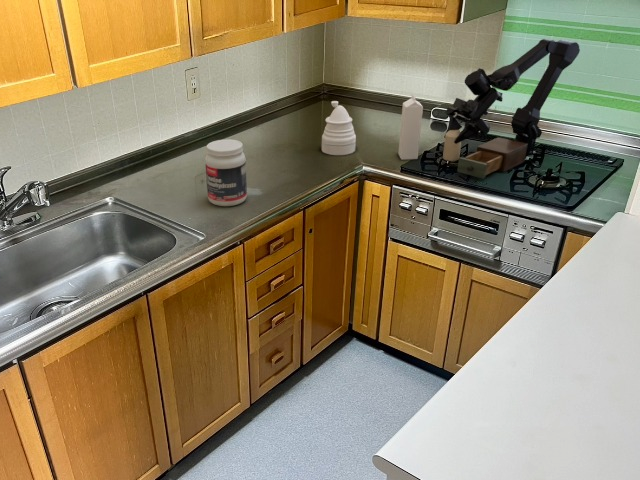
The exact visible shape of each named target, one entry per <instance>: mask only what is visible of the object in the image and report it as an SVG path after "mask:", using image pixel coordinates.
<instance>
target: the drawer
mask: <svg viewBox="0 0 640 480" xmlns="http://www.w3.org/2000/svg"><path fill="white" fill-rule="evenodd" d="M503 158H504V155H500V154H496V153H492V152H488V151H484V150H480V151H478V152H477V151H475V152H474V153H471V154H469V155H467V156H465V157H462V156H459V159H458V162H457V170H456V172H457V173H461V174H465V175H467V176H472V177H475V178H479V179H485V178H486V176H487V175H490V174H491V173H494V172H496V171H497V170H498V169H500V168H502V164H503Z"/></svg>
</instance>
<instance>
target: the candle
mask: <svg viewBox="0 0 640 480" xmlns="http://www.w3.org/2000/svg"><path fill="white" fill-rule="evenodd" d="M460 133H461V131H460V129H459V130H449V131H448V132H447V133H446V132H445V134H446V135H445V134H444V136H445V138H444V145H443V151H442V152H443V153H442V159H443V160H444V161H447V162H456V161H459V158H460V157H461V156H460V155H461V148H462V141H461V142H459V143H457V144H455V143H454V141H455V139H456V138H457V137H458V135H459V134H460Z"/></svg>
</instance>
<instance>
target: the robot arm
mask: <svg viewBox="0 0 640 480" xmlns="http://www.w3.org/2000/svg"><path fill="white" fill-rule="evenodd" d="M580 50H581V49H580V45H579V43H578V42H576V41H571V40H566V39H559V40H557V41H556V40H553V39H549V38H542V39H540V40H539V41H538V43H537V44H536V45H534V46H533V47H532V48H530V49H529V50H527V51H526V52H525V53H524V54H523V55H520V57H519V58H517V59H516V60H515V61H514V62H511V63H510V64H507V65H503V66H501V67H499V68H498V69H496V70H494V71H493V72H492V73H490V74H487V73H486V71H485V69H484V68H481V67H479V68H478V69H477V70H474V71H472V72H470V73H469V74H467V75H466V77H465V79H464V85H465V86H466V87H467V89H469V91H470V92H471V93H472V94H473V96H476V97H475V98H474V99H468V100H464V99H461V98H459V97H456V98H455V99H454V102H453V104H452V106H449V107H447V108H446V110H445V111H444V113H445V115H447V116H448V118H449V124H448V127H447V129H446V131H445V134H444V136H443V138H444V139H445V135H446V133H447V132H448V131H449V130H459V131H460V129H461V128H463V129H462V130H461V131H460V132H461V133H460V134H459V135H458V137H457V138H456V139H455V141H454V143H455V144H457V143H459V142H461V143H462V142H463V141H465V140H468V139H470V138H472V137H474V136H479V135H480V134H481V135H483V136H485V137H486V136H487V135H488V134H489V132H490V131H491V127H490V126H489V125H488V123H487V122H486V121H485V120H484V118H482V117H483V116H487V115H488V114H489V112H488V110H489V109H490V108H491V106H492V105H493V104H494V103H495V102H496V101H497V102H501V103H503V92H500V91H498V90H501V91H504V92H507V91H509V90H511V89H512V88H513V87H514V86H515V85H516V84H517V83H518V82H519V80H520V78H521V76H522V75H523V74H524V73H526V72H527V71H528V70H529V69H531V68H532V67H534V66H535V65H536V64H537V63H539V62H540V61H541V60H542V59H544V58H546V57H547V56H548V65H547V68H546V69H545V71H544V73H543V74H542V76H541V78H540V80H539V82H538V83H537V85H536V87H535V89H534V91H533V93H532V94H531V96H530V98H529V100H528V101H527V103H526V104H525V105H524V106H523V107H517V108H516V110H515V113H514V114H513V116H511V122H510V124H511V129H512V134H515V138H514V139H513V141H518V142H522V143H527V144H528V146H527V151H526V156H527V155H535V154H537V152H536V151H535V147H536V140H537V139H539V138H541V136H542V134H543V131H542V130H541V128H540V127H539V122H540V119H541V109H542V108H543V106H544V104H545V102H546V101H547V99H548V98H549V96H550V93H551V92H552V90H553V88H554V87H555V86H556V83H557V81H558V79H559V78H560V76H561V74H562V73H563V71H565V69H567V68H568V67H569V66H571V65H572V64H573V63H574V61H575V60H576V59H577V57H578V56H579V54H580V52H581V51H580ZM462 123H464V127H463V126H462V125H461V124H462Z"/></svg>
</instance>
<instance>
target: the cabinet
mask: <svg viewBox="0 0 640 480" xmlns="http://www.w3.org/2000/svg"><path fill="white" fill-rule="evenodd" d="M527 146H528V144H527V143H522V142H518V141H514V139H509V138H503V137H500V136H498V137H496V138H493V139H491V140H489V141H487V142H485V143H482V144H480V145H478V146H476V152H478V151H480V150H484V151H488V152H492V153H496V154H500V155H504V158H503V164H502V168H500V169H498V170H496V171H497V172H499V173H505V172H507V171H509V170H511V169H513V168H515V167H518V166H519V165H521V164H524V163H525V160H526V156H527V155H526V151H527Z"/></svg>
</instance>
